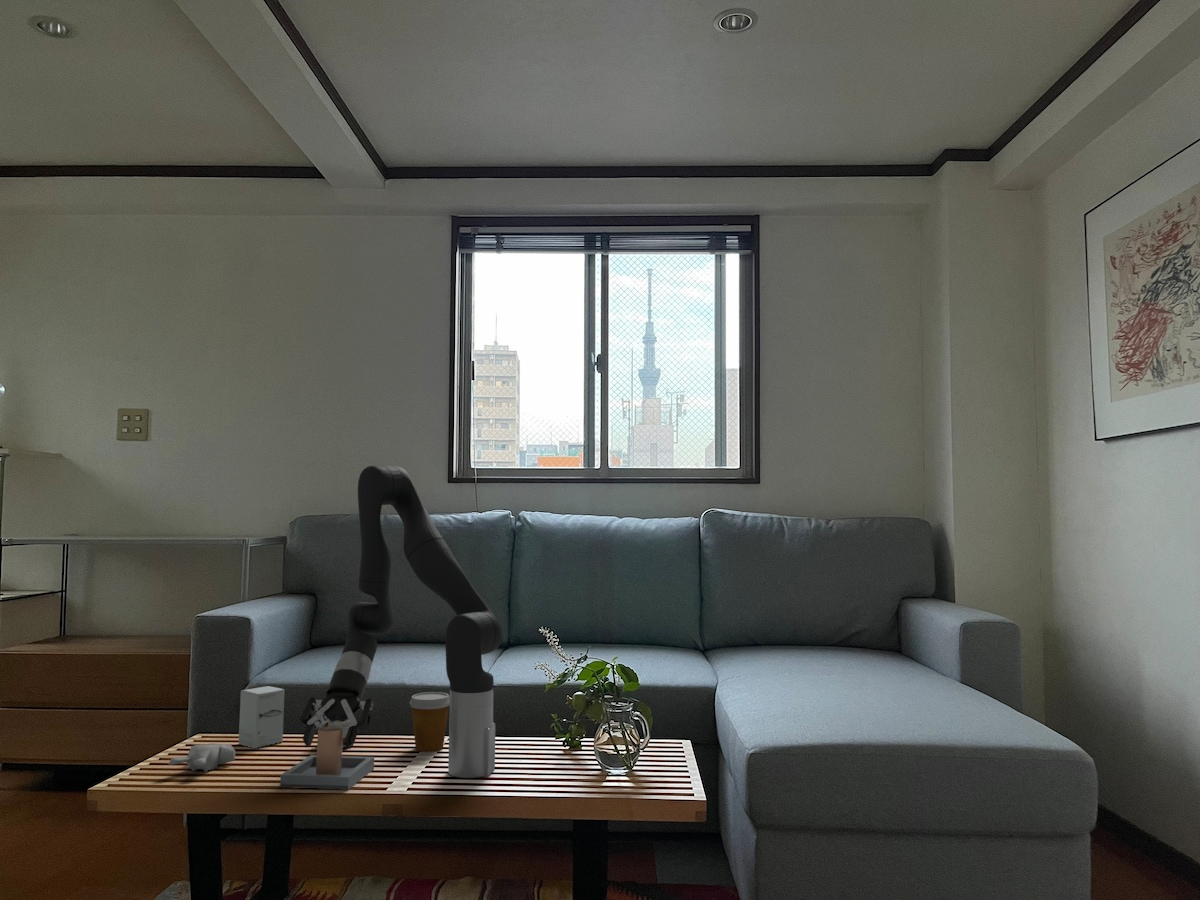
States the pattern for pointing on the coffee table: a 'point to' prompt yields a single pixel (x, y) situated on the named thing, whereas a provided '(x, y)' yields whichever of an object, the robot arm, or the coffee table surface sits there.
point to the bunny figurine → (206, 756)
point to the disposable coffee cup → (429, 720)
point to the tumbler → (329, 750)
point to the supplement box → (261, 716)
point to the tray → (308, 778)
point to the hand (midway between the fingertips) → (327, 745)
